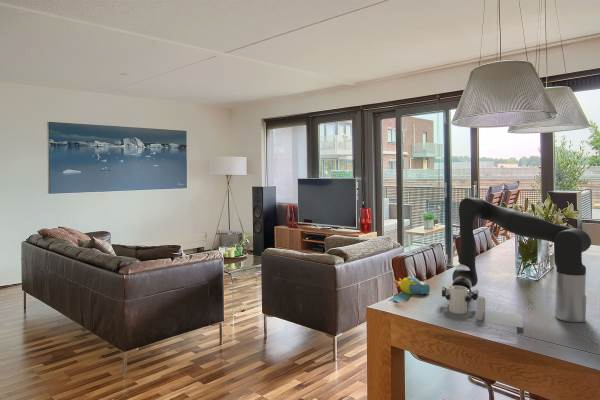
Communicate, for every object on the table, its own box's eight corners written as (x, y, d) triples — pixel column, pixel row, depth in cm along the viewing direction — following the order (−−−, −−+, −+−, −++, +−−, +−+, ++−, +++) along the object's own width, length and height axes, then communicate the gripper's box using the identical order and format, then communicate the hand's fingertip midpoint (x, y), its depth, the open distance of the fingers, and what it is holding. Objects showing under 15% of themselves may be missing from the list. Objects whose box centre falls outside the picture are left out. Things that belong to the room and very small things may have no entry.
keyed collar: (467, 309, 169) (467, 286, 168) (466, 314, 163) (466, 290, 163) (449, 307, 172) (450, 284, 171) (447, 312, 166) (448, 288, 165)
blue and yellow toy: (411, 268, 209) (441, 273, 199) (411, 286, 210) (441, 292, 200) (380, 280, 188) (413, 287, 178) (380, 300, 189) (412, 308, 179)
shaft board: (521, 318, 162) (522, 292, 161) (523, 331, 149) (523, 303, 149) (443, 309, 174) (443, 285, 173) (438, 321, 161) (438, 294, 160)
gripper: (443, 276, 183) (437, 286, 168) (480, 279, 177) (478, 290, 162) (443, 294, 183) (437, 305, 168) (480, 298, 177) (478, 310, 162)
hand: (457, 298), depth 165 cm, fingers closed on keyed collar, 6 cm apart
